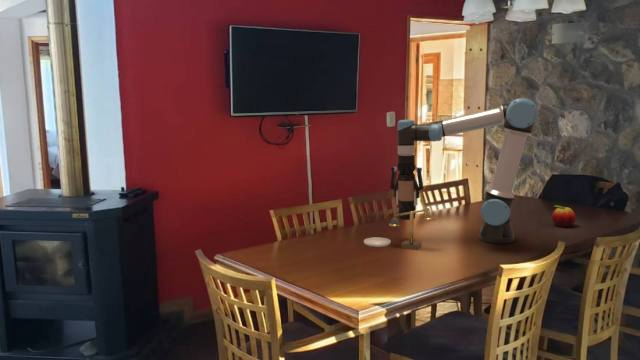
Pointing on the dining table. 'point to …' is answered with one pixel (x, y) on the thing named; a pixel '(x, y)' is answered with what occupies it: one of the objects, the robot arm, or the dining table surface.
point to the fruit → (563, 216)
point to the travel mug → (406, 195)
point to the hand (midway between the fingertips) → (406, 204)
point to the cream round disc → (377, 242)
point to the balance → (411, 243)
